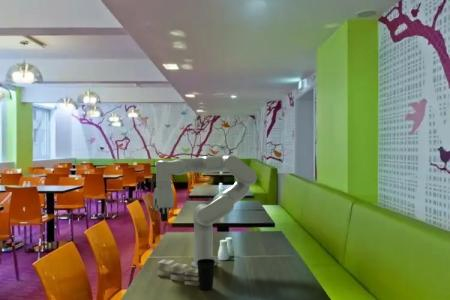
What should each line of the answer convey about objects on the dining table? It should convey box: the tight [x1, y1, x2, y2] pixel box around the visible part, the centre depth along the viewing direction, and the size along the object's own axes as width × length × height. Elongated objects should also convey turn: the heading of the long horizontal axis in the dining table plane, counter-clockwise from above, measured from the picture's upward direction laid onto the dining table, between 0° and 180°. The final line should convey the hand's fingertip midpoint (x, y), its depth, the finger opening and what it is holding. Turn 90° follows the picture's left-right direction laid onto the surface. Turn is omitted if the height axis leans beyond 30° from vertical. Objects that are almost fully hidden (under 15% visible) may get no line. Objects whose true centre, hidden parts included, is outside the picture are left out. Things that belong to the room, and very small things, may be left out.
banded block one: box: [170, 262, 189, 282], centre depth 198 cm, size 6×6×6 cm
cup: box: [197, 259, 216, 292], centre depth 183 cm, size 8×8×12 cm
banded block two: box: [183, 267, 199, 287], centre depth 191 cm, size 6×6×6 cm
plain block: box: [156, 258, 175, 277], centre depth 204 cm, size 6×6×6 cm
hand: (164, 221), depth 214 cm, fingers closed
